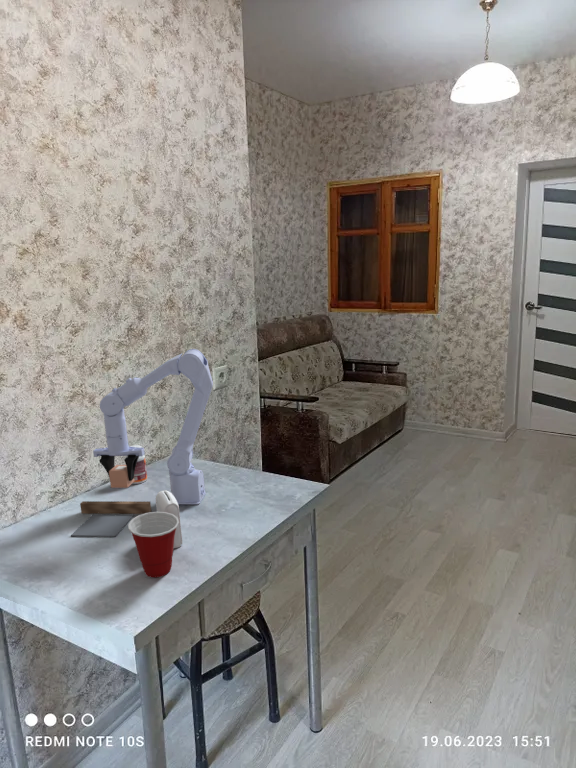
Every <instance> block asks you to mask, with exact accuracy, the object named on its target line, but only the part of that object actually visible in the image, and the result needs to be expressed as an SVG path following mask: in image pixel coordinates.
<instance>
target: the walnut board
mask: <svg viewBox="0 0 576 768" xmlns="http://www.w3.org/2000/svg"><path fill="white" fill-rule="evenodd" d="M79 504H80V505H79V506H80V511H81V512H80V513H81V514H88V515H89V514H90V515H92V514H134V515H142V514H145V513H150V512H152V504H151V501H127V500H126V501H115V500H114V501H107V500H105V501H104V500H103V501H101V500H100V501H99V500H98V501H95V500H94V501H89V500H88V501H86V500H85V501H81V502H80V503H79Z"/></svg>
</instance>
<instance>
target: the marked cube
mask: <svg viewBox="0 0 576 768" xmlns="http://www.w3.org/2000/svg"><path fill="white" fill-rule="evenodd" d="M109 476H110V478H109V483H110V488H111V489H112V488H113V489H114V488H116V489H117V488H118V489H119V488H121V489H123V488H124V489H126V488H127V489H128V488H129V487H131V485H133V484H132V483H133V482H134V481H135V480H134V479H133V480H132V481H129V478H128V471H127V466H126V464H116V465H115V466H114V467H113V468H112V469H111V470H110V471H109V475H108V477H109Z"/></svg>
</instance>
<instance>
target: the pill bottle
mask: <svg viewBox="0 0 576 768" xmlns="http://www.w3.org/2000/svg"><path fill="white" fill-rule="evenodd" d="M129 446H130V447H137V448H143V446H142V445H138V444H134V445H129ZM127 457H128V456H125V458H127ZM134 480H135V481H134V482H133V483H132V484H131V485H137V484H138V485H139V484H143V483H145V482H146V481H147V480H148V472H147V461H146V456H145V454H144V455H143V456H139V458H138V461H137V463H136V467H135V472H134Z"/></svg>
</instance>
